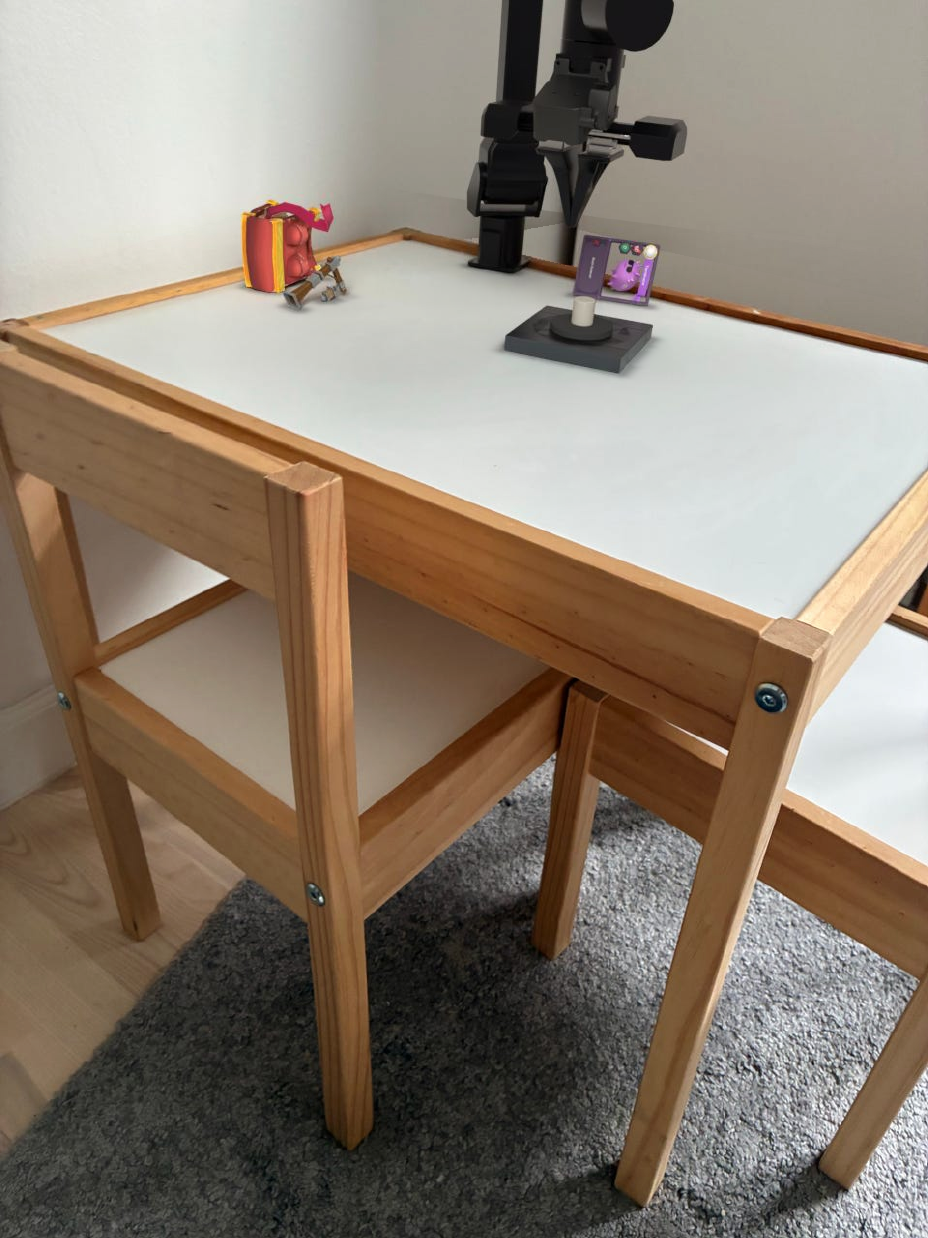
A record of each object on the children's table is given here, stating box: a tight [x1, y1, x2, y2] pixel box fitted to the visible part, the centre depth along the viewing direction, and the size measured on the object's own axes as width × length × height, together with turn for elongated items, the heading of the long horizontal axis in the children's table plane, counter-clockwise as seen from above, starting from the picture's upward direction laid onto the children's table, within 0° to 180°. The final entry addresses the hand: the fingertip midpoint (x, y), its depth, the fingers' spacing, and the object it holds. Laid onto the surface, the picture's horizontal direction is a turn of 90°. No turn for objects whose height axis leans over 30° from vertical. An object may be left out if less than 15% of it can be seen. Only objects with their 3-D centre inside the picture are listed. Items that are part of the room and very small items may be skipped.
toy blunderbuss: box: [281, 255, 348, 311], centre depth 99 cm, size 2×8×4 cm, turn 138°
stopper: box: [550, 296, 613, 340], centre depth 91 cm, size 6×6×4 cm
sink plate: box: [503, 305, 654, 374], centre depth 92 cm, size 12×12×2 cm
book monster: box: [240, 199, 334, 294], centre depth 101 cm, size 11×9×12 cm
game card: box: [572, 234, 661, 307], centre depth 106 cm, size 7×5×9 cm
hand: (571, 226), depth 89 cm, fingers closed
